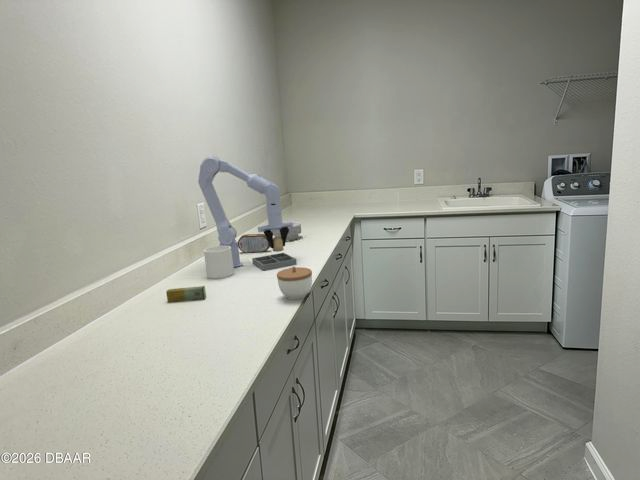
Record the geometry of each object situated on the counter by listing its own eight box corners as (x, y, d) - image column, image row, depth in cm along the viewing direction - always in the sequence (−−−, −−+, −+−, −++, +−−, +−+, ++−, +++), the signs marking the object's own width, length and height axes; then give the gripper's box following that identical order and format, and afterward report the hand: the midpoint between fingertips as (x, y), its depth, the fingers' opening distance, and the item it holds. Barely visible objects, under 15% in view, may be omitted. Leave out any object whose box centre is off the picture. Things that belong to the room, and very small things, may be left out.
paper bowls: (301, 241, 210) (299, 225, 208) (270, 243, 211) (268, 227, 209) (302, 235, 225) (301, 220, 223) (274, 237, 225) (272, 222, 224)
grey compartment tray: (263, 270, 162) (262, 265, 162) (252, 263, 175) (252, 258, 174) (296, 264, 168) (296, 258, 168) (284, 257, 180) (283, 252, 180)
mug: (226, 279, 156) (222, 252, 153) (202, 278, 159) (198, 252, 156) (241, 269, 167) (238, 244, 165) (219, 269, 170) (216, 244, 168)
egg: (274, 252, 172) (273, 238, 171) (271, 250, 176) (269, 236, 175) (285, 250, 174) (283, 236, 172) (281, 248, 178) (280, 234, 176)
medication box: (207, 297, 138) (205, 285, 137) (205, 300, 135) (203, 288, 134) (169, 300, 138) (168, 288, 137) (167, 303, 135) (165, 291, 134)
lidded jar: (282, 304, 125) (279, 274, 123) (276, 293, 135) (273, 265, 133) (317, 298, 128) (315, 268, 126) (309, 288, 138) (306, 260, 136)
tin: (271, 250, 195) (270, 232, 193) (270, 252, 192) (268, 234, 190) (240, 252, 197) (237, 234, 195) (238, 254, 194) (235, 236, 192)
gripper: (260, 217, 165) (264, 251, 168) (294, 212, 171) (297, 245, 174) (254, 215, 171) (258, 248, 174) (288, 211, 177) (291, 242, 180)
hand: (277, 246), depth 174 cm, fingers closed on egg, 4 cm apart
